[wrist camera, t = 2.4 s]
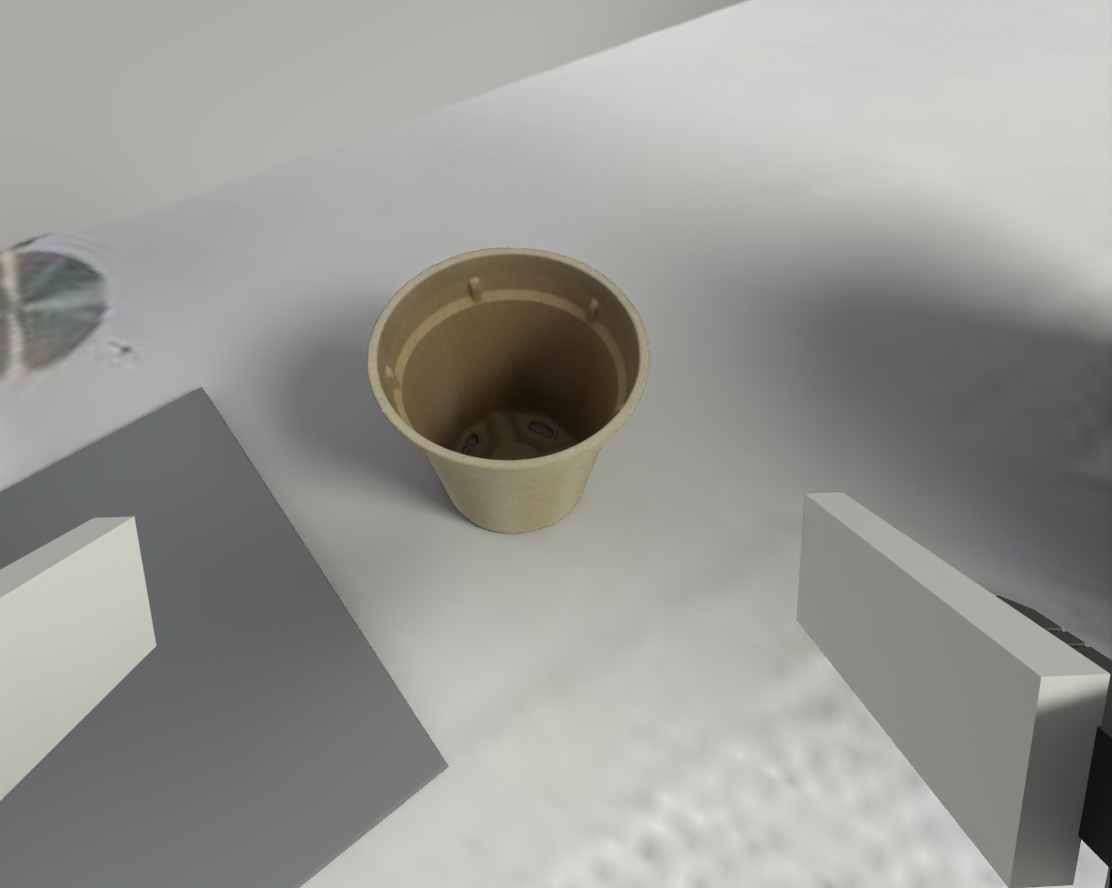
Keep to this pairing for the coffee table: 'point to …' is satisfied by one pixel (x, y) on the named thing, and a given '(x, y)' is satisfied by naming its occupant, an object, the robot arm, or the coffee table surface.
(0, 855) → the charcoal mat
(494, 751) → the coffee table surface
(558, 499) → the flower pot
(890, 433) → the coffee table surface
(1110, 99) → the coffee table surface
